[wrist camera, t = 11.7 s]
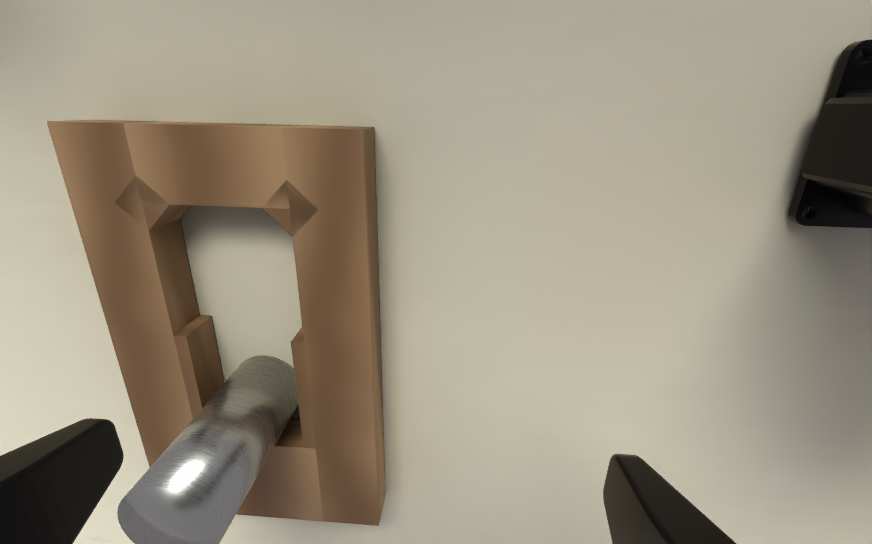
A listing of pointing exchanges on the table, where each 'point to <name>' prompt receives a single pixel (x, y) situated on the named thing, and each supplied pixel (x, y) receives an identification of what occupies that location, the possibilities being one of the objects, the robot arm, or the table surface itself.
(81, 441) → the robot arm
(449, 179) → the table surface
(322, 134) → the keyhole board
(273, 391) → the peg
